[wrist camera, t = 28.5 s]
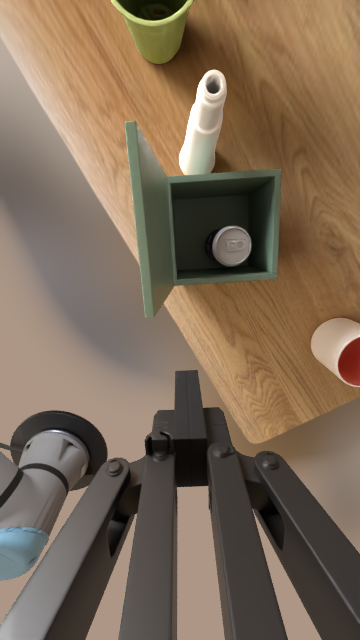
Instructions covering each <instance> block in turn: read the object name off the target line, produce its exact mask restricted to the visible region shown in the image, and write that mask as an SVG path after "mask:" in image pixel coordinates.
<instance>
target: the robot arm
mask: <svg viewBox="0 0 360 640" xmlns="http://www.w3.org/2000/svg"><path fill="white" fill-rule="evenodd" d="M0 447H1V448H4V449H7V450H10V451H14V452H17V453H21V454H22V456H21V459H20V463H19V466H16V465H15V464H14V463H13V462H11V460H9V459H8V458H7V457H6V456H5V455H4V454H3V453H1V452H0V580H1V581H2V580H8V579H13V578H16V577H19V576H21V575H23V574H25V573H26V572H27V571H29V570H30V569H31V568H32V567H33V566H34V565H35V563H36V562H37V560H38V558H39V556H40V554H41V552H42V550H43V549H44V547H45V545H46V544H47V542H48V540H49V536H50V533H51V531H52V529H53V526H54V524H55V522H56V519H57V517H58V515H59V512H60V510H61V508H62V506H63V503H64V501H65V499H66V496H67V494H68V492H69V491H70V490H71V489H72V488H73V486H74V485H75V484H76V483H77V482H78V481H79V480H80V479H81V478H82V477H83V475H84V474H85V472H86V470H87V468H88V466H89V463H90V458H91V455H90V450H89V447H88V446H87V444H86V442H85V441H84V440H83V439H82V438H81V437H80V436H79V435H77V434H76V433H74V432H72V431H70V430H67V429H63V428H46V429H43V430H40V431H38V432H37V433H35V434H34V435H33V436H32V437H31V438H30V440H29V441H28V442H27V444H26V445H25V447H24V450H22V449H19V448H15V447H12V446H8V445H5V444H2V443H0ZM145 448H146V455H145V456H144V457H143V458H141V459H140V460H137V461H135V462H132V463H129V462H128V461H127V460H126V459H123V458H113V459H110V460H108V461H107V462H105V463H104V464H103V465H102V466H101V467H100V469H99V471H98V472H97V474H96V475H95V477H94V478H93V480H92V482H91V483H90V485H89V486H88V488H87V489H86V491H85V493H84V494H83V496H82V497H81V499H80V501H79V502H78V504H77V505H76V507H75V508H74V510H73V512H72V513H71V515H70V516H69V518H68V519H67V521H66V523H65V524H64V526H63V527H62V529H61V530H60V532H59V533H58V535H57V537H56V538H55V540H54V541H53V543H52V545H51V546H50V548H49V549H48V551H47V552H46V554H45V555H44V557H43V559H42V560H41V562H40V564H39V565H38V566H37V568H36V570H35V571H34V573H33V574H32V576H31V577H30V579H29V581H28V582H27V584H26V585H25V587H24V588H23V590H22V592H21V593H20V595H19V596H18V598H17V599H16V601H15V603H14V604H13V606H12V607H11V609H10V610H9V612H8V614H7V615H6V617H5V618H4V620H3V621H2V623H1V625H0V640H85V639H86V636H87V634H88V631H89V629H90V626H91V624H92V621H93V619H94V616H95V614H96V611H97V609H98V606H99V604H100V601H101V599H102V596H103V594H104V591H105V589H106V586H107V584H108V581H109V579H110V576H111V574H112V571H113V569H114V566H115V564H116V561H117V559H118V556H119V554H120V551H121V549H122V546H123V544H124V541H125V539H126V536H127V534H128V531H129V529H130V526H131V524H132V521H133V519H134V515H135V514H137V519H136V526H135V533H134V539H133V546H132V553H131V559H130V566H129V573H128V579H127V586H126V592H125V599H124V606H123V613H122V619H121V626H120V632H119V639H118V640H177V487H192V486H208V487H209V509H210V512H211V521H212V530H213V538H214V547H215V556H216V564H217V574H218V582H219V590H220V600H221V608H222V617H223V626H224V635H225V640H288V638H287V635H286V631H285V628H284V624H283V620H282V617H281V613H280V609H279V606H278V602H277V598H276V595H275V591H274V587H273V583H272V580H271V576H270V572H269V569H268V566H267V562H266V558H265V554H264V551H263V547H262V543H261V539H260V536H259V532H258V528H257V525H256V521H255V517H254V514H253V510H254V513H255V515H256V517H257V518H258V520H259V522H260V524H261V526H262V528H263V530H264V532H265V533H266V535H267V537H268V539H269V541H270V543H271V545H272V546H273V548H274V550H275V552H276V554H277V556H278V558H279V560H280V562H281V564H282V565H283V567H284V569H285V571H286V573H287V575H288V577H289V579H290V580H291V582H292V584H293V586H294V588H295V590H296V592H297V594H298V595H299V597H300V599H301V601H302V603H303V605H304V607H305V609H306V611H307V613H308V614H309V616H310V618H311V620H312V622H313V624H314V626H315V627H316V629H317V631H318V633H319V635H320V637H321V639H322V640H360V554H359V552H358V551H357V550H356V549H355V547H354V546H353V545H352V544H351V542H350V541H349V540H348V539H347V538H346V536H345V535H344V534H343V533H342V531H341V530H340V529H339V528H338V526H337V525H336V524H335V523H334V521H333V520H332V519H331V518H330V516H328V514H327V513H326V511H325V510H324V509H323V508H322V506H321V505H320V504H319V503H318V501H317V500H316V499H315V498H314V496H313V495H312V494H311V493H310V491H309V490H308V489H307V488H306V486H305V485H304V484H303V483H302V482H301V480H300V479H299V478H298V476H297V475H296V474H295V473H294V472H293V470H292V469H291V468H290V466H289V465H288V464H287V463H286V461H285V460H284V459H283V458H282V457H281V456H280V455H278V454H276V453H274V452H270V451H262V452H260V453H258V454H257V455H256V456H255V458H254V457H249V456H245V455H242V454H241V453H239V452H238V451H236V450H235V448H234V447H233V445H232V443H231V439H230V435H229V431H228V427H227V424H226V420H225V416H224V413H223V411H222V410H221V409H220V408H219V407H215V408H203V406H202V399H201V392H200V385H199V378H198V371H197V370H189V371H176V373H175V410H159V411H158V412H157V414H155V416H154V421H153V429H152V432H151V433H150V434H149V435H147V436H146V439H145ZM252 509H253V510H252Z"/></svg>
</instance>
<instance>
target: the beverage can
mask: <svg viewBox="0 0 360 640" xmlns="http://www.w3.org/2000/svg"><path fill="white" fill-rule="evenodd" d="M251 248H252V241H251V238H250V235H249V234H248V232H247V231H246V230H245V229H244V228H242V227H240V226H237V225H228V226H225V227H222V228H219V229H217V230H214V231H213V232H211V233H210V234H209V236H208V237H207V239H206V242H205V250H206V253H207V255H208V256H209V257H210V258H211V259H212V260H214V261H216V262H218V263H220V264H222V265H224V266H228V267H233V266H237V265H240V264H241V263H243V262H244V261H245V260H246V259H247V258H248V256H249V254H250V252H251Z"/></svg>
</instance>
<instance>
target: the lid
mask: <svg viewBox="0 0 360 640" xmlns="http://www.w3.org/2000/svg"><path fill="white" fill-rule="evenodd" d="M125 132H126V141H127V151H128V160H129V169H130V179H131V188H132V198H133V207H134V217H135V226H136V235H137V245H138V254H139V264H140V272H141V281H142V282H141V283H142V292H143V301H144V311H145V317H147V318H149V317H155V315H156V314H157V312H158V310H159V309H160V308H161V306H162V305H163V303H164V301H165V300H166V298H167V297H168V295H169V294H170V292H171V290H172V289H173V287H174V274H173V260H172V246H171V232H170V217H169V203H168V189H167V176H166V174H165V172H164V171H163V169H162V167H161V165H160V163H159V162H158V160H157V158H156V156H155V155H154V153H153V151H152V149H151V147H150V146H149V144H148V142H147V140H146V138H145V137H144V135H143V133H142V131H141V130H140V128H139V126H138V124H137V122H136V121H129V122H125Z"/></svg>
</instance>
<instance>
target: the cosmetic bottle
mask: <svg viewBox="0 0 360 640" xmlns="http://www.w3.org/2000/svg"><path fill="white" fill-rule="evenodd" d="M226 96H227V88H226V80H225V77H224V75H223V74H222V73H221V72H220V71H218V70H210V71H208V72H207V73H206V74H205V75H204V77H203V79H202V80H201V82H200V83H199V86H198V89H197V97H196V102H195V104H194V105H193V107H192V110H191V114H190V118H189V123H188V128H187V134H186V139H185V143H184V146H183V147H182V149H181V152H180V155H179V164H180V167H181V170H182V171H183V173H184V174H185V175H197V174H210V173H211V171H212V170H213V168H214V165H215V149H216V145H217V141H218V138H219V134H220V130H221V125H222V120H223V111H222V109H223V106H224V103H225V100H226Z"/></svg>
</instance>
